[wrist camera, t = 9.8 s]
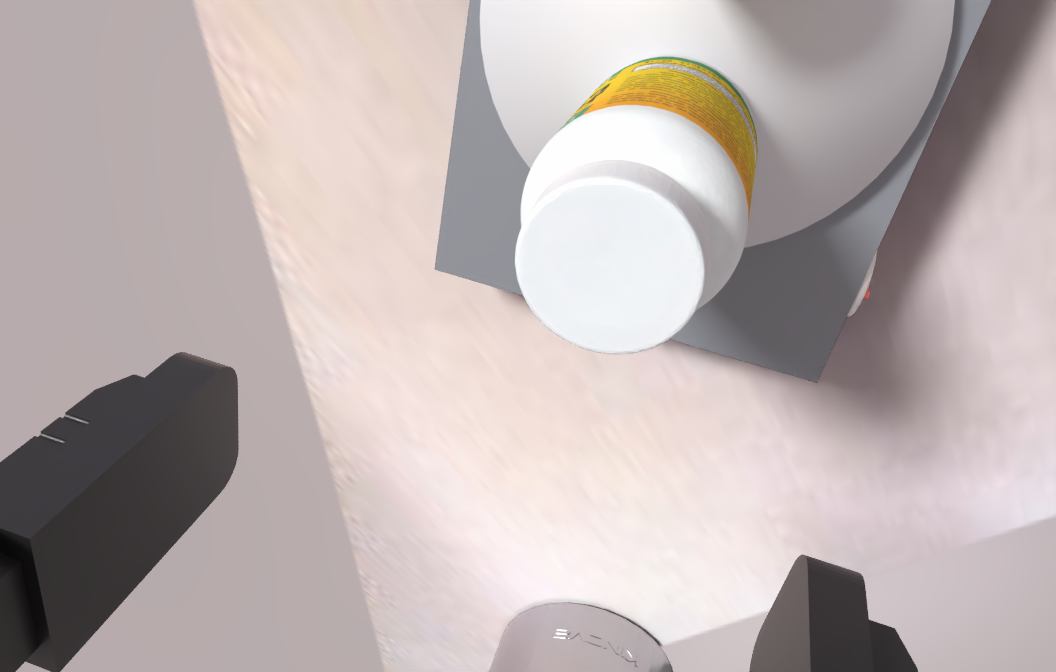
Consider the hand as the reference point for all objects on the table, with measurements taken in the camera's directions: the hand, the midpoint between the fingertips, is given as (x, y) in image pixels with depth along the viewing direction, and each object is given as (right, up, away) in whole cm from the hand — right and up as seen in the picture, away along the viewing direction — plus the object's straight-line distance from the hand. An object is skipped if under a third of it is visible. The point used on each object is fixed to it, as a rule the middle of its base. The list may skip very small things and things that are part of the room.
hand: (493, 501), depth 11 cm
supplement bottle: (+5, +8, +14) cm, 17 cm away
